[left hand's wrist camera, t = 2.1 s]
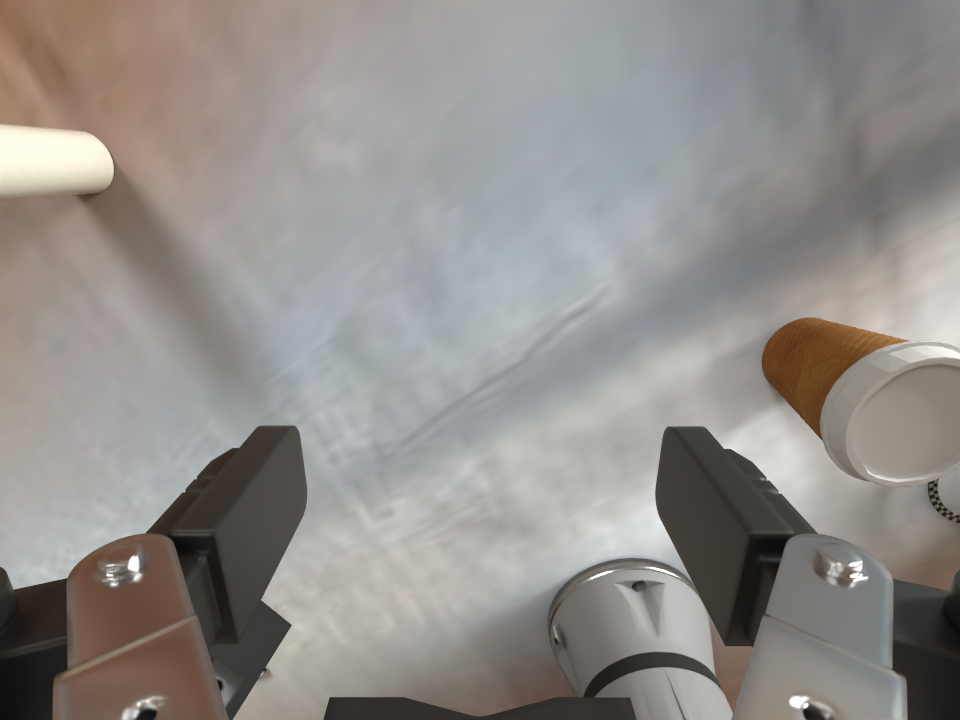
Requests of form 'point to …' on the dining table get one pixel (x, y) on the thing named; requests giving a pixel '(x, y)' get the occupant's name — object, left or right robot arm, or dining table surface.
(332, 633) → the dining table surface
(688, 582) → the right robot arm
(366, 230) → the dining table surface
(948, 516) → the checkered curved strip
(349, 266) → the dining table surface
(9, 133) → the white bottle
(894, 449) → the disposable coffee cup
